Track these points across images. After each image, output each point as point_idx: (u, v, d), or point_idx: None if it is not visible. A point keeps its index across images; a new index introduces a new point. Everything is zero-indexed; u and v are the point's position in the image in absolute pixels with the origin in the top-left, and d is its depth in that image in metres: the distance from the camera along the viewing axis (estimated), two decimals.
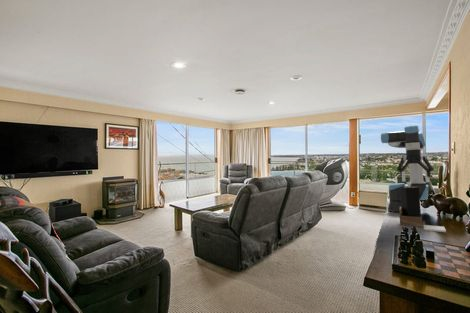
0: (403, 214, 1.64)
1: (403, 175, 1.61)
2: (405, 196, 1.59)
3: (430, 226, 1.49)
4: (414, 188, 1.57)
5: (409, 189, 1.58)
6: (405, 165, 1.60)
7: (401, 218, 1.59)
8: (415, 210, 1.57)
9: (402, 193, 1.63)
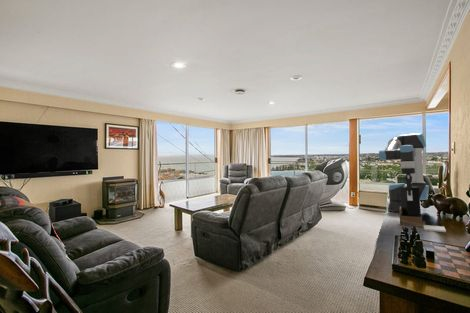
0: (403, 214, 1.64)
1: None
2: (405, 196, 1.59)
3: (430, 226, 1.49)
4: (414, 188, 1.57)
5: None
6: None
7: (401, 218, 1.59)
8: (415, 210, 1.57)
9: (402, 193, 1.63)
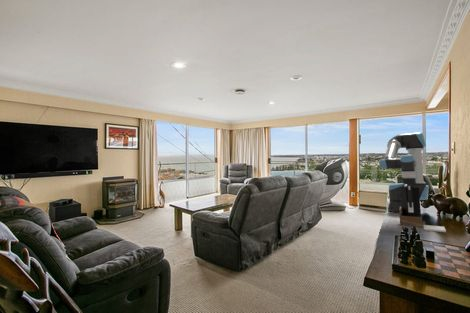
0: (403, 214, 1.64)
1: None
2: (405, 196, 1.59)
3: (430, 226, 1.49)
4: (414, 188, 1.57)
5: None
6: None
7: (401, 218, 1.59)
8: (415, 210, 1.57)
9: (402, 193, 1.63)
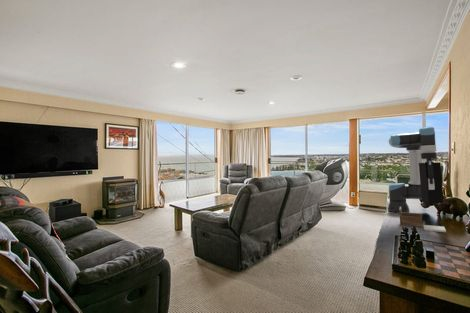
0: (422, 193, 1.50)
1: None
2: (425, 172, 1.45)
3: (430, 226, 1.49)
4: (435, 163, 1.44)
5: None
6: None
7: (401, 218, 1.59)
8: (436, 187, 1.43)
9: (421, 170, 1.49)
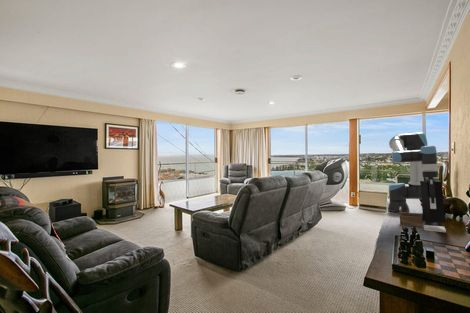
0: (423, 211, 1.50)
1: None
2: (427, 190, 1.45)
3: (430, 226, 1.49)
4: (436, 182, 1.43)
5: None
6: None
7: (401, 218, 1.59)
8: (437, 206, 1.43)
9: (422, 188, 1.49)
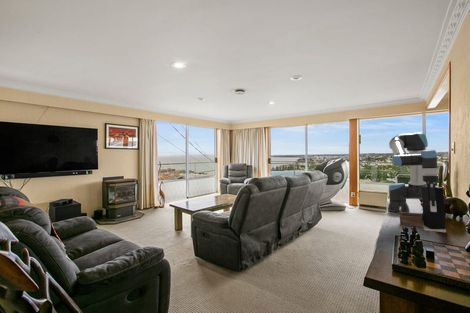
0: (424, 217, 1.50)
1: None
2: (428, 197, 1.44)
3: None
4: (438, 188, 1.42)
5: None
6: None
7: (401, 218, 1.59)
8: (438, 212, 1.42)
9: (424, 194, 1.48)
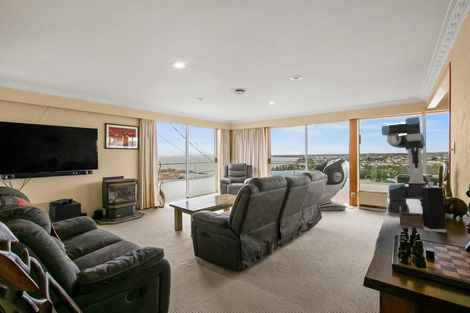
0: (423, 217, 1.50)
1: (413, 166, 1.63)
2: (427, 197, 1.45)
3: None
4: (437, 188, 1.43)
5: (431, 189, 1.43)
6: (412, 156, 1.62)
7: (401, 218, 1.59)
8: (438, 212, 1.42)
9: (423, 194, 1.49)
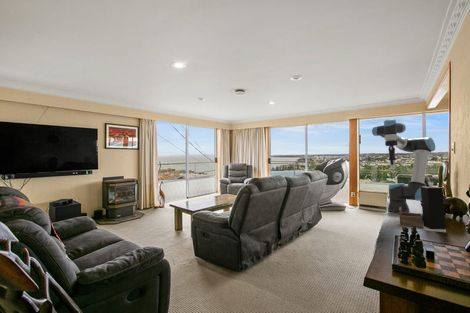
0: (423, 217, 1.50)
1: None
2: (427, 197, 1.45)
3: None
4: (437, 188, 1.43)
5: (431, 189, 1.43)
6: None
7: (401, 218, 1.59)
8: (438, 212, 1.42)
9: (423, 194, 1.49)
